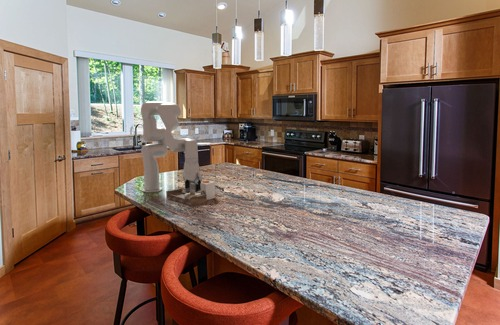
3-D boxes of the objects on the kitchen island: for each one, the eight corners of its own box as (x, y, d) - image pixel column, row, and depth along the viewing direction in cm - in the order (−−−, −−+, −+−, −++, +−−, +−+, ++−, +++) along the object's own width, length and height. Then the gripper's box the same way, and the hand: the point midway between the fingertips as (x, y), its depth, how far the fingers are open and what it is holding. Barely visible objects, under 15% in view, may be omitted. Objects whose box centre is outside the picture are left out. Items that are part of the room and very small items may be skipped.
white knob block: (197, 198, 202) (196, 182, 201) (206, 195, 208) (205, 180, 206) (205, 200, 197) (205, 184, 195) (214, 197, 203) (214, 182, 201)
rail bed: (166, 198, 202) (166, 191, 201) (181, 194, 210) (180, 187, 209) (192, 205, 186) (191, 198, 185) (206, 201, 194) (206, 194, 194)
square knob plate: (184, 199, 193) (183, 184, 192) (193, 196, 199) (193, 182, 197) (191, 201, 189) (191, 186, 187) (201, 198, 194) (200, 183, 193)
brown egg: (201, 187, 201) (201, 180, 201) (206, 186, 204) (206, 179, 204) (205, 188, 199) (205, 181, 198) (210, 187, 202) (210, 180, 201)
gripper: (177, 160, 193) (178, 188, 195) (196, 162, 182) (197, 192, 184) (187, 158, 198) (188, 186, 201) (206, 161, 187) (207, 190, 190)
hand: (192, 189), depth 193 cm, fingers open, 9 cm apart
